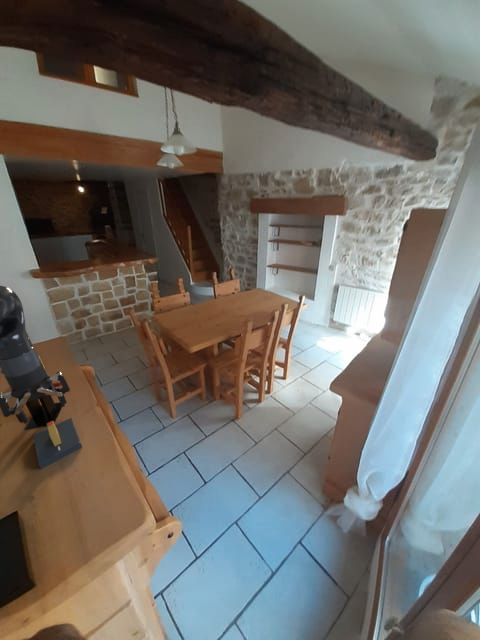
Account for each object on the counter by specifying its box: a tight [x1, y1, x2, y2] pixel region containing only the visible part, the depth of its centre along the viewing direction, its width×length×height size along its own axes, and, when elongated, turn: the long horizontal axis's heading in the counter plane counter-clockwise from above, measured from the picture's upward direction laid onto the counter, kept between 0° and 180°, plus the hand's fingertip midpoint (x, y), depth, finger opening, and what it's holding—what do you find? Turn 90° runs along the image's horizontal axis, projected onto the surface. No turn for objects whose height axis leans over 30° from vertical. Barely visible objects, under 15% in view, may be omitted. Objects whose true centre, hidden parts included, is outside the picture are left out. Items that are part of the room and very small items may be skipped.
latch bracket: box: [24, 394, 63, 431], centre depth 82 cm, size 10×8×12 cm
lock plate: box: [32, 417, 83, 470], centre depth 75 cm, size 12×10×3 cm
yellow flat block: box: [46, 421, 61, 446], centre depth 73 cm, size 6×2×5 cm, turn 42°
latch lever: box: [35, 382, 62, 400], centre depth 85 cm, size 13×5×2 cm, turn 14°
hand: (45, 412), depth 70 cm, fingers open, 8 cm apart
